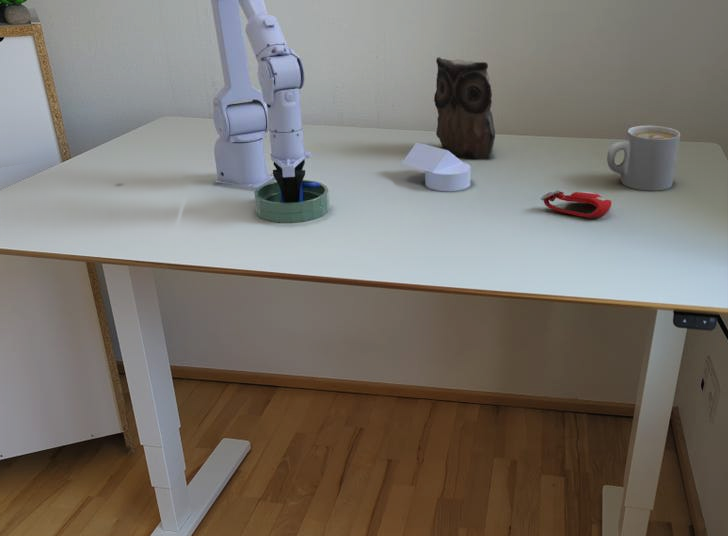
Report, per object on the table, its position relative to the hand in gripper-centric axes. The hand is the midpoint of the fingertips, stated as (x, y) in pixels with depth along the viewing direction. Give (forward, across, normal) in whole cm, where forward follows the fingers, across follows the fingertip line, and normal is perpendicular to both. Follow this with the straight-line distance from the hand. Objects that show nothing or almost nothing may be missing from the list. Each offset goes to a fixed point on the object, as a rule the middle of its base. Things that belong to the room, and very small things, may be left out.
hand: (292, 203), depth 145 cm
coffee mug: (+2, +7, -68) cm, 69 cm away
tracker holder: (+2, -7, -52) cm, 52 cm away
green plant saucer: (+2, 0, 0) cm, 2 cm away
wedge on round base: (+2, +13, -30) cm, 32 cm away
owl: (+2, +33, -40) cm, 51 cm away
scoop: (+1, 0, -2) cm, 2 cm away
